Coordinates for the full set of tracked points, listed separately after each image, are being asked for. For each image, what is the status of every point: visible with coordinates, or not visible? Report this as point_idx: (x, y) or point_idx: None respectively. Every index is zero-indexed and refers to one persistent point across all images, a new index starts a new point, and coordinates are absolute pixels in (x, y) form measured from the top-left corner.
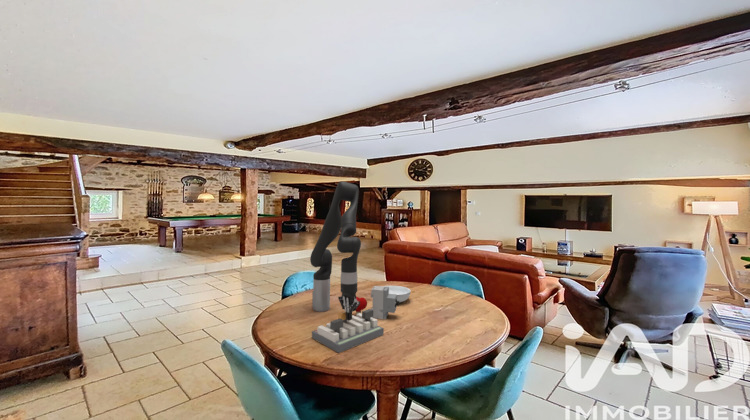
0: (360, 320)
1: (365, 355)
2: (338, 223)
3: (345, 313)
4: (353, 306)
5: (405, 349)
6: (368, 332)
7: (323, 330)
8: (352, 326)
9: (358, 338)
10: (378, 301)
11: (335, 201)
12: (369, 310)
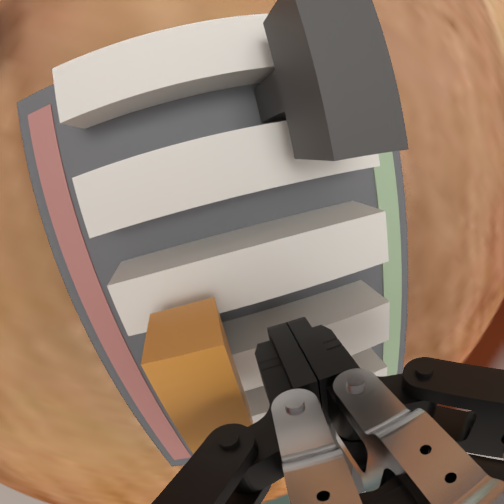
0: (272, 171)
1: (459, 279)
2: None
3: (243, 401)
4: (495, 439)
5: (496, 99)
6: (389, 176)
7: None
8: (356, 315)
9: (405, 280)
10: None
11: None
12: (358, 34)
